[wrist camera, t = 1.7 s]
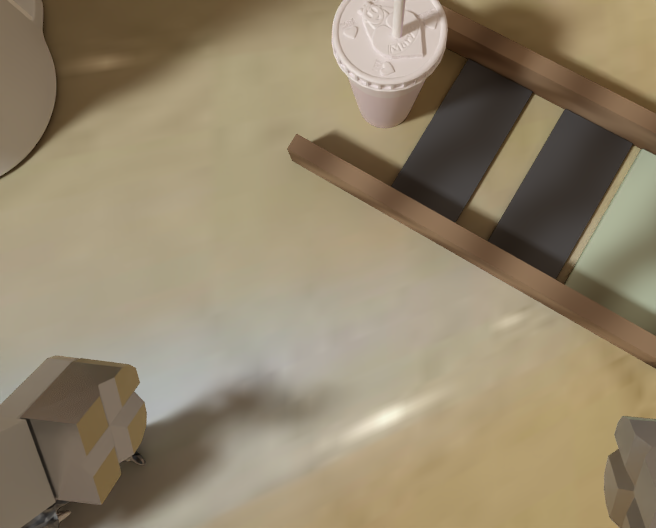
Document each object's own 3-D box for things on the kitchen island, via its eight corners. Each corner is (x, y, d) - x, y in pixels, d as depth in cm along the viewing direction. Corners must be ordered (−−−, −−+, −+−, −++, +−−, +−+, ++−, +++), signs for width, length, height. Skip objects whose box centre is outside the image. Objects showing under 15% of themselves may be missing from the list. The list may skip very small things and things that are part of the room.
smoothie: (388, 164, 40) (397, 69, 26) (321, 107, 41) (296, -14, 27) (449, 99, 40) (490, -30, 27) (381, 43, 41) (387, -108, 28)
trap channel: (292, 160, 41) (287, 148, 38) (391, 1, 42) (393, -20, 39) (660, 371, 37) (681, 373, 34) (759, 190, 38) (786, 179, 36)
